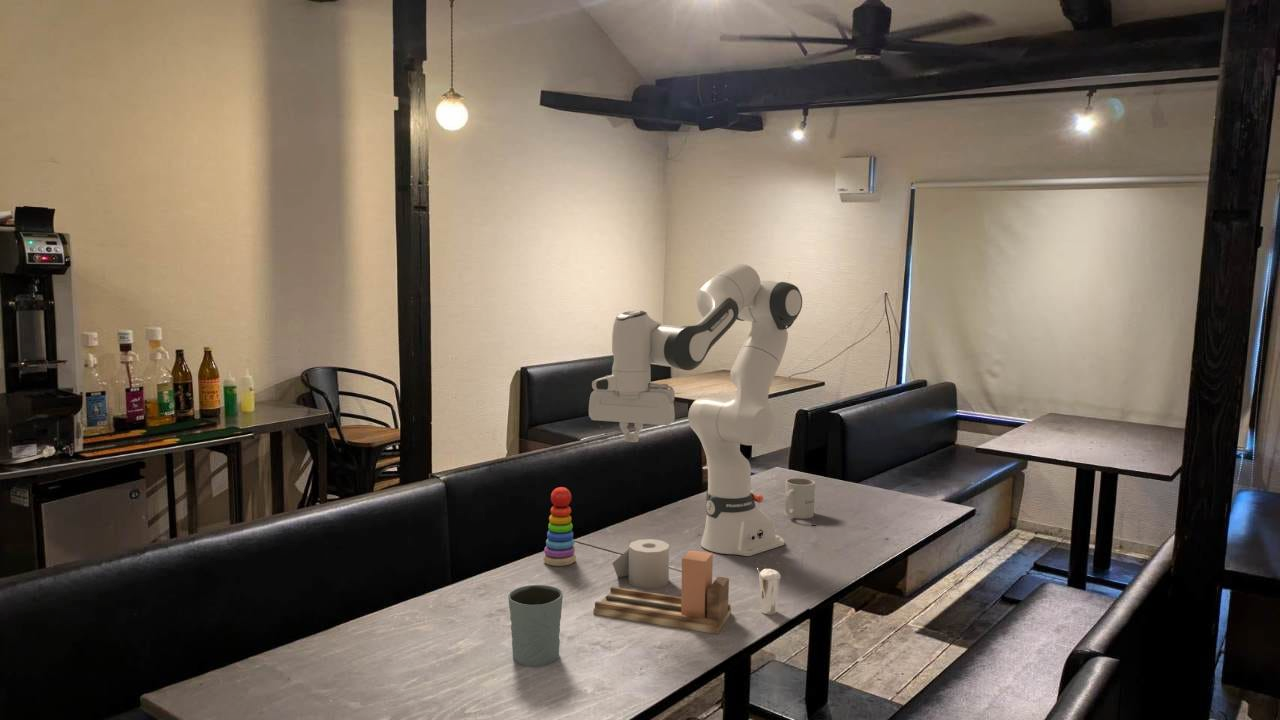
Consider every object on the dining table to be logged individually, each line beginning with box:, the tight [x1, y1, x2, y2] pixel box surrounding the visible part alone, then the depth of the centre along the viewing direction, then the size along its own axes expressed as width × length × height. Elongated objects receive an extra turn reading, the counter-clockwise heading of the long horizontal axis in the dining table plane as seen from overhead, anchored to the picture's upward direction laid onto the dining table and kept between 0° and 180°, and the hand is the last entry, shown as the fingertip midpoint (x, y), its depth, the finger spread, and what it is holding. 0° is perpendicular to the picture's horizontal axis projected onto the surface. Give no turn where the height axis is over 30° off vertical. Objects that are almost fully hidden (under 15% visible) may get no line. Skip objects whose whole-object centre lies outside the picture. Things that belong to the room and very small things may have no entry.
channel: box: [593, 576, 732, 635], centre depth 177 cm, size 27×11×8 cm, turn 70°
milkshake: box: [757, 567, 782, 616], centre depth 178 cm, size 4×5×10 cm
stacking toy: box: [543, 486, 577, 567], centre depth 207 cm, size 8×8×19 cm
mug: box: [784, 477, 816, 520], centre depth 249 cm, size 12×9×10 cm
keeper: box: [680, 549, 714, 618], centre depth 174 cm, size 5×6×12 cm
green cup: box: [508, 584, 564, 668], centre depth 157 cm, size 10×10×12 cm
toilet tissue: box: [612, 538, 670, 590], centre depth 195 cm, size 9×13×9 cm
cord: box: [605, 594, 707, 615], centre depth 177 cm, size 24×1×1 cm, turn 70°
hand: (631, 441), depth 194 cm, fingers closed
